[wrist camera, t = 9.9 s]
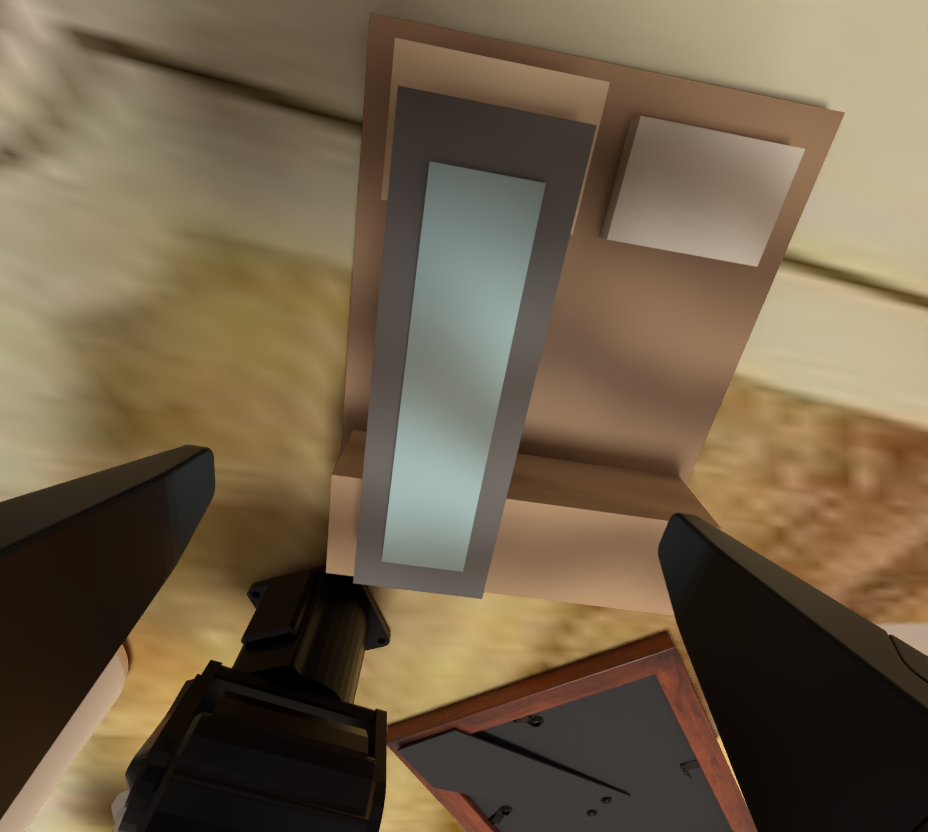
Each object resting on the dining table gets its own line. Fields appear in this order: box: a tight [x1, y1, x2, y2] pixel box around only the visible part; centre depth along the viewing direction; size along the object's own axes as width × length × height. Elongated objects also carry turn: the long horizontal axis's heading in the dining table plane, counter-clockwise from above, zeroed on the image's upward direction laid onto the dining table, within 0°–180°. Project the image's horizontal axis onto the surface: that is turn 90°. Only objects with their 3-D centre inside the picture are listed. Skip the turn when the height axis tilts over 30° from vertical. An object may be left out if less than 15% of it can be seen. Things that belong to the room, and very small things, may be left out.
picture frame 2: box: [386, 632, 757, 832], centre depth 35 cm, size 20×2×25 cm
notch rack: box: [326, 13, 844, 615], centre depth 19 cm, size 21×17×5 cm
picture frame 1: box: [353, 86, 597, 599], centre depth 15 cm, size 16×5×2 cm, turn 171°
